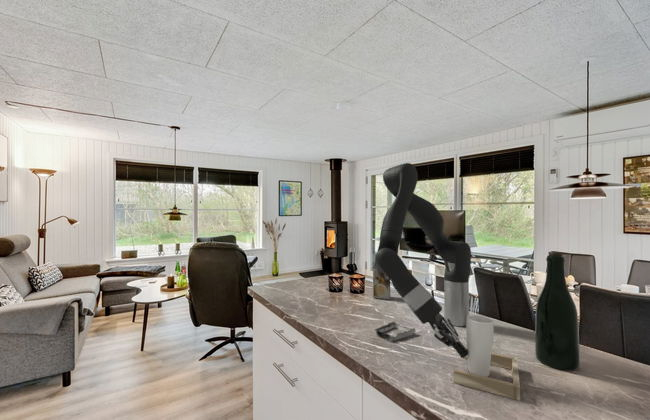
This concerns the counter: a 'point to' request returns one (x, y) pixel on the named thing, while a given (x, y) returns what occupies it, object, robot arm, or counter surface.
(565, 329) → the beer bottle
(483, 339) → the drinking glass
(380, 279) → the coffee box
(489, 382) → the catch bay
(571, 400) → the counter surface
